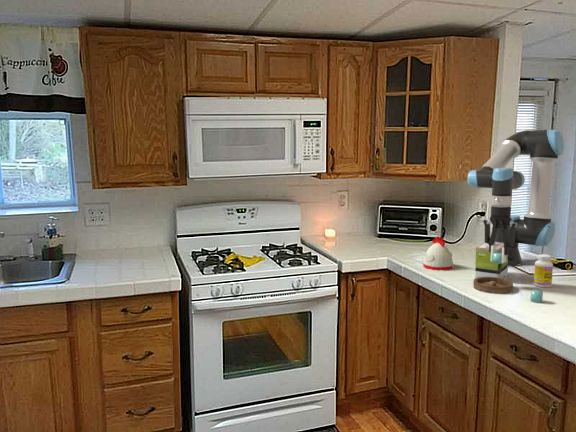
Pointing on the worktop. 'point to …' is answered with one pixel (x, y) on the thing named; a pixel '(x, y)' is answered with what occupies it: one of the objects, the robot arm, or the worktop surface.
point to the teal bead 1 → (497, 257)
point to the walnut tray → (493, 285)
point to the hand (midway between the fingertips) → (498, 261)
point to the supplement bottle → (543, 271)
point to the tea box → (489, 262)
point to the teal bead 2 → (536, 296)
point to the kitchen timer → (438, 256)
